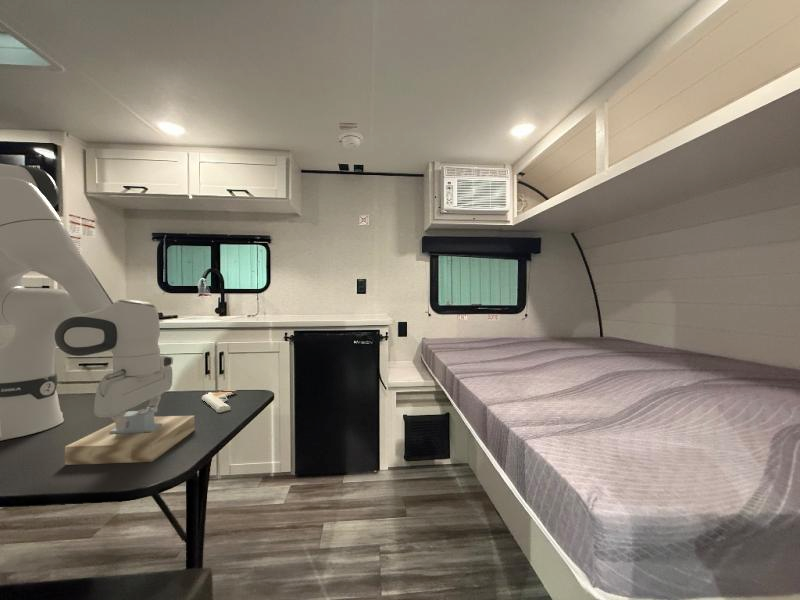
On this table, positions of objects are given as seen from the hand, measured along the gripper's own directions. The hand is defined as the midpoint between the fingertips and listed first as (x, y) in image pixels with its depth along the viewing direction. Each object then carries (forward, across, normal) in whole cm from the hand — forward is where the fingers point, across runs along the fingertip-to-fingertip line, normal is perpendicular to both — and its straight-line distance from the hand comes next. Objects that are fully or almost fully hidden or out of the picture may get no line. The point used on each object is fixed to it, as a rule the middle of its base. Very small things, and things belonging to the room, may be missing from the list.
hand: (138, 420), depth 75 cm
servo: (+6, 0, 0) cm, 6 cm away
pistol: (+7, +30, -6) cm, 32 cm away
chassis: (+6, 0, 0) cm, 6 cm away
